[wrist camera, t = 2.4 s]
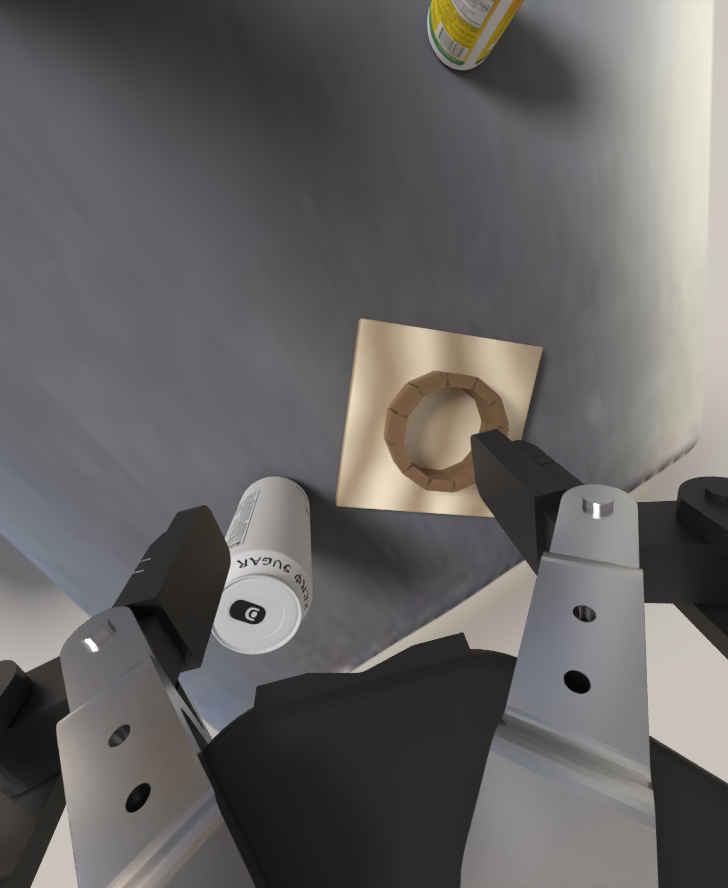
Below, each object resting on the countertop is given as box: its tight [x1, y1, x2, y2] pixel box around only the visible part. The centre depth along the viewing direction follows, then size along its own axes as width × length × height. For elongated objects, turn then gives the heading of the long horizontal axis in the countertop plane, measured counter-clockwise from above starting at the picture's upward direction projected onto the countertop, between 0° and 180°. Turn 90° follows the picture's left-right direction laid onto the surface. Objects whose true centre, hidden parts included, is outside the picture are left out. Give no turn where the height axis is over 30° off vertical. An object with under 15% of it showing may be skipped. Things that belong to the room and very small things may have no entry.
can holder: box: [336, 318, 543, 517], centre depth 33 cm, size 16×16×4 cm
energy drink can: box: [212, 477, 313, 654], centre depth 28 cm, size 6×6×15 cm
